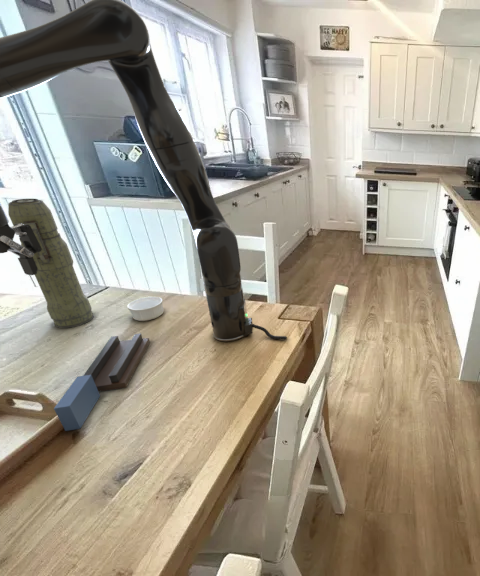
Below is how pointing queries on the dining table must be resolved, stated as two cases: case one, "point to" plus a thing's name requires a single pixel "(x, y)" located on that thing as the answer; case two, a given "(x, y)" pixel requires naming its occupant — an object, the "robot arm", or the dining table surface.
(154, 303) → the ramekin
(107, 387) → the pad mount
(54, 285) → the olive green tall column
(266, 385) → the dining table surface
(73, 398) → the back pad
